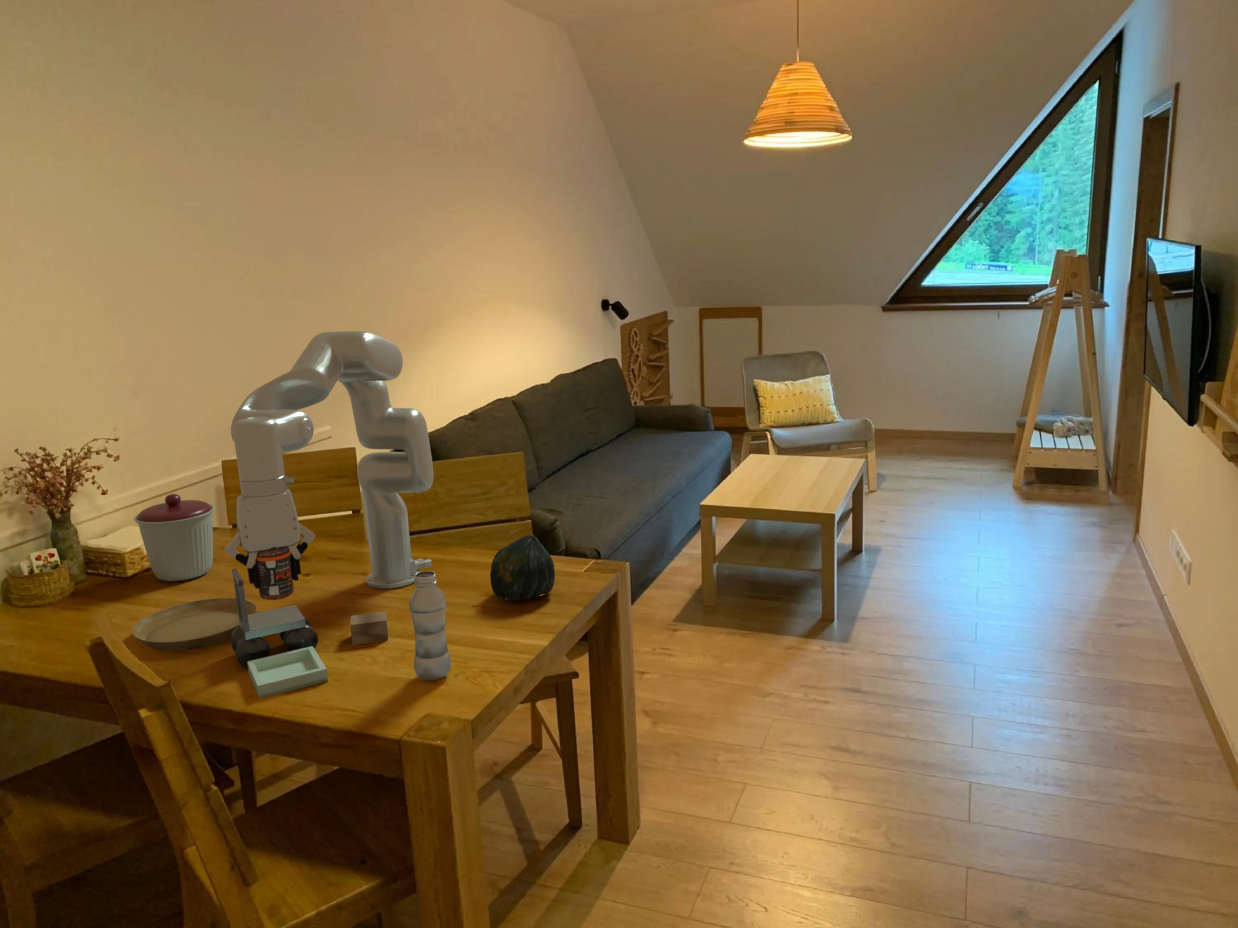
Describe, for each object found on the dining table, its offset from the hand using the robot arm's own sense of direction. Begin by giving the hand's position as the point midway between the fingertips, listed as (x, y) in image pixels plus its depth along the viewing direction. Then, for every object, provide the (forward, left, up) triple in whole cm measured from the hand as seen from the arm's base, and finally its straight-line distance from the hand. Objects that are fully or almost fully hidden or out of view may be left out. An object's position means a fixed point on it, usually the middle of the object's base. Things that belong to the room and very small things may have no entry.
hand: (275, 581), depth 163 cm
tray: (0, 0, -19) cm, 19 cm away
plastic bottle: (-23, +16, -19) cm, 34 cm away
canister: (+11, -76, -19) cm, 80 cm away
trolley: (0, -12, -19) cm, 23 cm away
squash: (-54, -12, -19) cm, 59 cm away
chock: (-18, -9, -19) cm, 28 cm away
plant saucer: (+12, -34, -19) cm, 41 cm away
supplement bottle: (0, 0, -3) cm, 3 cm away
